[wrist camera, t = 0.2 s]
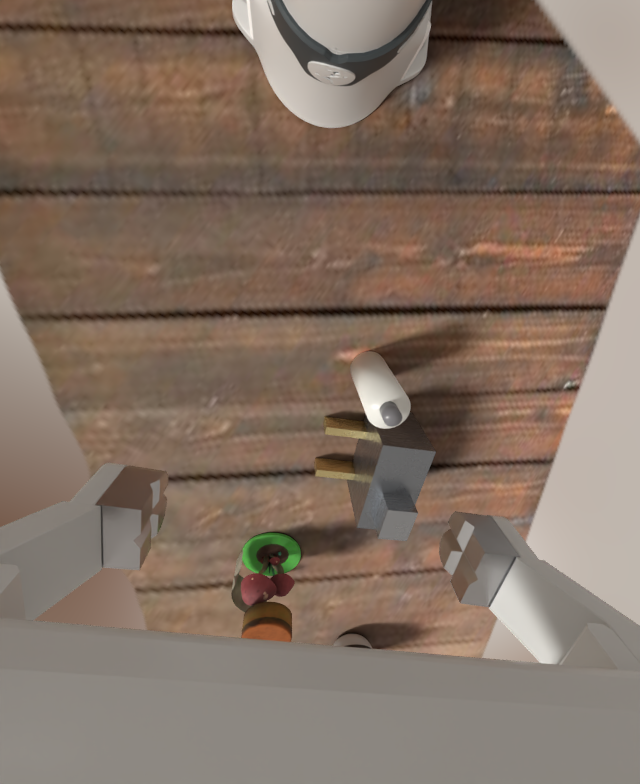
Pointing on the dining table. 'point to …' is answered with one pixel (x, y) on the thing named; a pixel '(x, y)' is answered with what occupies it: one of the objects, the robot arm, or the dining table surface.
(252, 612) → the mushroom figurine
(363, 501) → the motor
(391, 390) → the white bottle
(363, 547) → the dining table surface
